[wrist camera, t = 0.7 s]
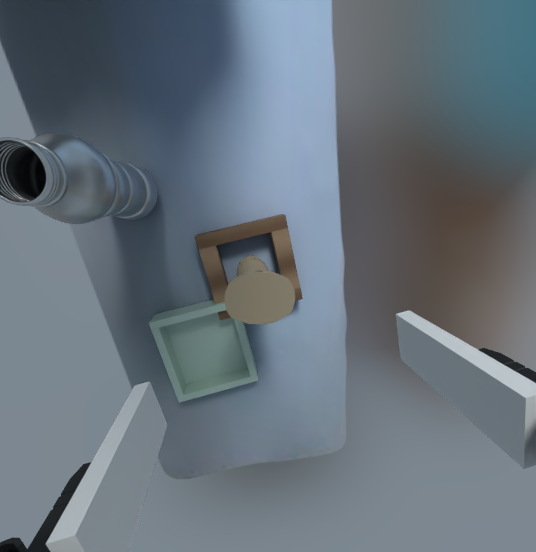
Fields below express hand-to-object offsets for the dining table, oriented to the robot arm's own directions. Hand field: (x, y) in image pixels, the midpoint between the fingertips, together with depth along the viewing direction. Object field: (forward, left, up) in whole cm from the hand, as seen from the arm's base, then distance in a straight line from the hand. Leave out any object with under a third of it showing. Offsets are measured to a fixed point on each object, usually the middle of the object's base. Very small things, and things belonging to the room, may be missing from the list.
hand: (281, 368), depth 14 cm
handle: (0, 0, -26) cm, 26 cm away
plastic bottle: (-13, -12, -26) cm, 32 cm away
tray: (+10, -9, -26) cm, 29 cm away
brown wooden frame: (0, 0, -26) cm, 26 cm away
